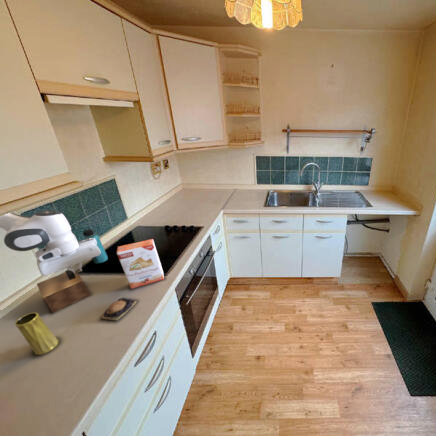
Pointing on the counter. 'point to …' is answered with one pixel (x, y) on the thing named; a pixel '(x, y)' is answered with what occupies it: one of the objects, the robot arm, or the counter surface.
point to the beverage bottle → (103, 255)
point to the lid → (58, 283)
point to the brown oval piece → (118, 309)
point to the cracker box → (140, 263)
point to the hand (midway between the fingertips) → (78, 272)
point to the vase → (36, 333)
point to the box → (67, 296)
